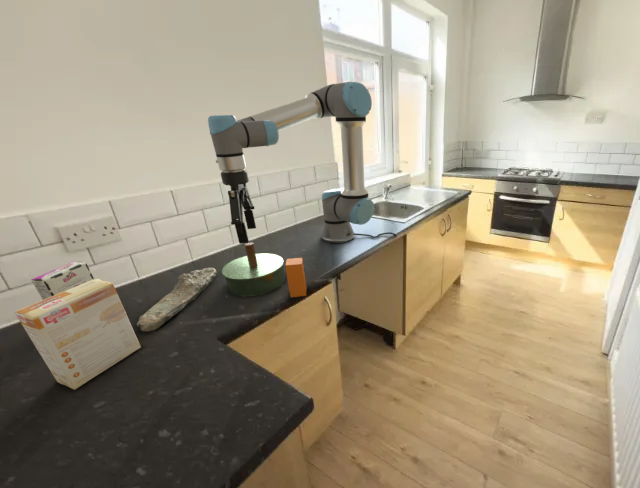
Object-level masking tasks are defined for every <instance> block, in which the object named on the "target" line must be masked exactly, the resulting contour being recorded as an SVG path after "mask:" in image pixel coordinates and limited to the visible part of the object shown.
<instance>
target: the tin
mask: <svg viewBox="0 0 640 488" xmlns="http://www.w3.org/2000/svg"><path fill="white" fill-rule="evenodd" d="M284 267H285V266H284V265H283V266H282V267H281V268H280V269H279V270H278V271H276V272H275V273H273V274H271V275H268V276H265V277H262V278H258V279H253V280H245V281H238V280H231V279H228V278H226V277H224V278H225V281H226V286H227V289H228V291H229V292H230V294H232V295H235V296H238V297H239V296H241V297H253V296H259V295H263V294H266V293H269V292H272V291H274V290H276V289H278V288H279V287H281V286H282V285H283V284H284V282H285V281H286V274H285V273H286V271H285V268H284Z"/></svg>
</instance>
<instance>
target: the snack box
mask: <svg viewBox="0 0 640 488" xmlns="http://www.w3.org/2000/svg"><path fill="white" fill-rule="evenodd" d="M284 267H285V273H286V279H287V284H288V291H289V296H290V298H299V297H306V296H307V293H308V292H307V291H308V290H307V288H308V287H307V281H306V280H307V279H306V274H305V266H304V259H303V257H293V258H286V260H285V266H284Z"/></svg>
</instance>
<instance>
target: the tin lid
mask: <svg viewBox="0 0 640 488" xmlns="http://www.w3.org/2000/svg"><path fill="white" fill-rule="evenodd" d="M244 248H245V253H246V255H244V256H241V257H238V258H236V259H233V260H231V261H229V262H228V263H226V264H225V265H224V266H223V267H222V270H221V273H222V276H223V277H224V278H225V277H226V278H228V279H231V280H238V281H245V280H253V279H258V278H262V277H265V276H268V275H271V274H273V273H275V272H276V271H278V270H279V269H280V268H281V267H282V266H284V262H285V261H284V259H283V257H282V256H280V255H278V254H275V253H256V249H255V245H254V242H252V241H251V242H250V241H249V243H244ZM226 278H225V279H226Z"/></svg>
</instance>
